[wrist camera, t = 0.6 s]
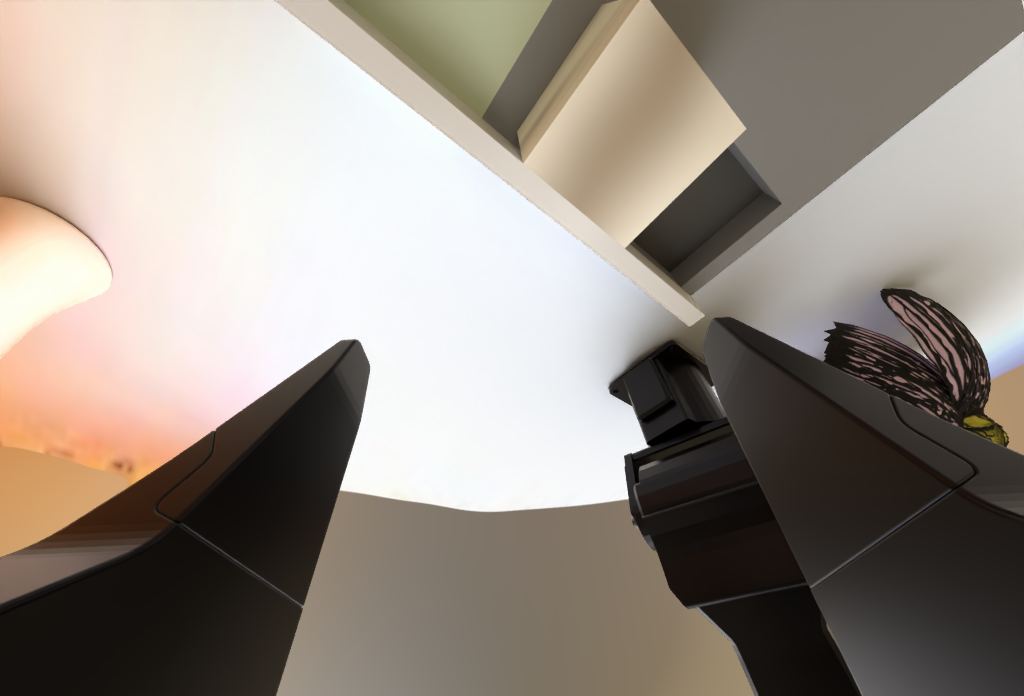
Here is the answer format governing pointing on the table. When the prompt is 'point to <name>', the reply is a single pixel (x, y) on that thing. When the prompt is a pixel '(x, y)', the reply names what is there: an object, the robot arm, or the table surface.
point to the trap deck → (729, 66)
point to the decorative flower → (921, 363)
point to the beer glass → (43, 268)
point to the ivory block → (626, 121)
